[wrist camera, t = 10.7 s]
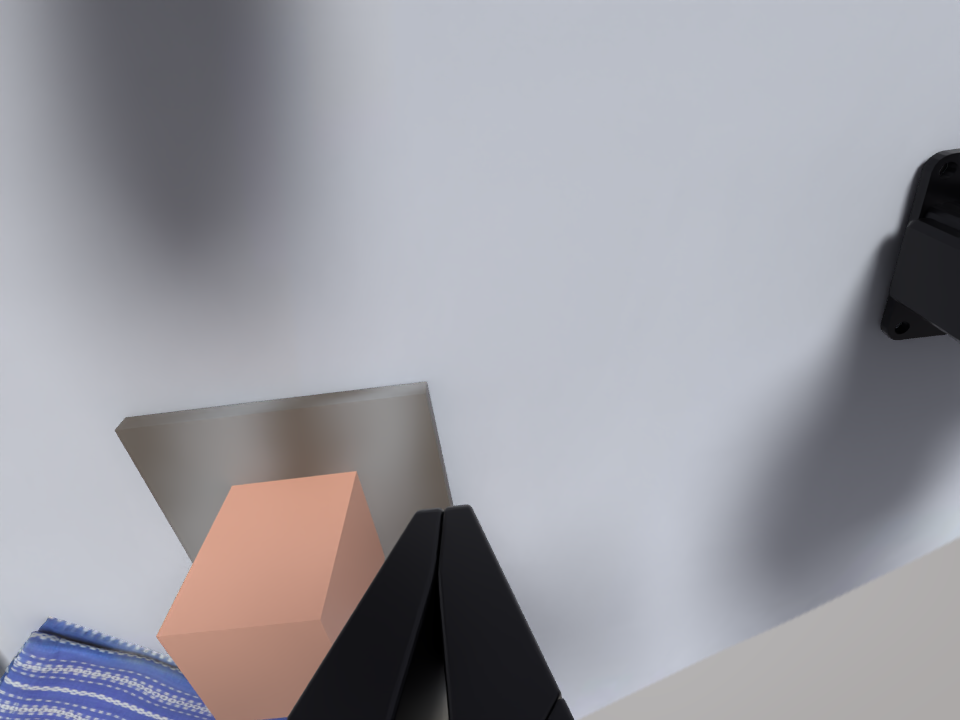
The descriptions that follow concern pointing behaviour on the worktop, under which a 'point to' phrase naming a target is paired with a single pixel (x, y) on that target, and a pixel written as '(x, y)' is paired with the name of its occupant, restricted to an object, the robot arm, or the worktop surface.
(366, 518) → the salmon pink block
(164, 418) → the plate
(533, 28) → the worktop surface
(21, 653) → the dish towel
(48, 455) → the worktop surface
